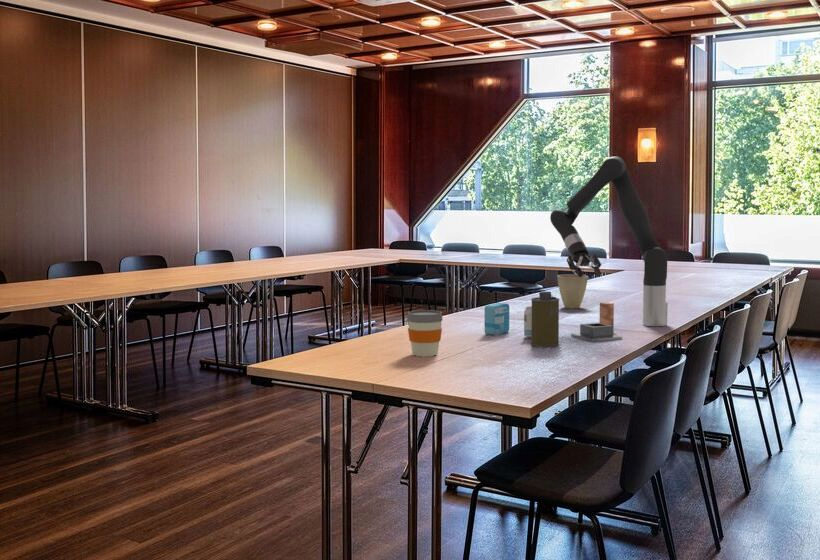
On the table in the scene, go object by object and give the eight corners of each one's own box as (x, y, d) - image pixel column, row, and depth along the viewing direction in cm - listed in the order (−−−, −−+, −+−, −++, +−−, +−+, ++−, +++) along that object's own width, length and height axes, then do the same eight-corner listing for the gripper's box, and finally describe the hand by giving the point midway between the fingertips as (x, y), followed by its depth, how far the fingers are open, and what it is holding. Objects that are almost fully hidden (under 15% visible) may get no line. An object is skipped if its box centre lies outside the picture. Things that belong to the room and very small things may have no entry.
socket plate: (601, 333, 336) (601, 321, 336) (622, 339, 323) (622, 326, 323) (571, 336, 331) (571, 323, 331) (591, 341, 318) (591, 328, 318)
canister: (549, 348, 305) (549, 294, 304) (525, 345, 313) (525, 292, 311) (565, 344, 313) (565, 291, 311) (541, 341, 320) (542, 289, 318)
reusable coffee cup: (420, 349, 306) (420, 309, 304) (449, 353, 299) (449, 311, 297) (400, 355, 296) (399, 313, 294) (430, 359, 288) (429, 315, 287)
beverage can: (541, 339, 325) (541, 308, 324) (523, 338, 327) (523, 308, 325) (542, 336, 332) (542, 306, 331) (524, 336, 333) (524, 306, 332)
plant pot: (557, 309, 409) (557, 277, 407) (556, 305, 423) (556, 274, 422) (588, 309, 407) (589, 277, 405) (586, 305, 421) (586, 274, 420)
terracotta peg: (607, 331, 342) (608, 302, 341) (613, 332, 338) (613, 303, 337) (599, 332, 341) (599, 302, 340) (605, 333, 337) (605, 303, 336)
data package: (493, 336, 334) (493, 306, 333) (484, 335, 337) (484, 305, 336) (509, 332, 343) (509, 303, 342) (500, 331, 346) (500, 302, 345)
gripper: (564, 241, 352) (579, 270, 343) (593, 240, 357) (608, 269, 348) (557, 253, 358) (572, 282, 348) (586, 252, 363) (601, 281, 353)
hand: (590, 275), depth 348 cm, fingers open, 8 cm apart
